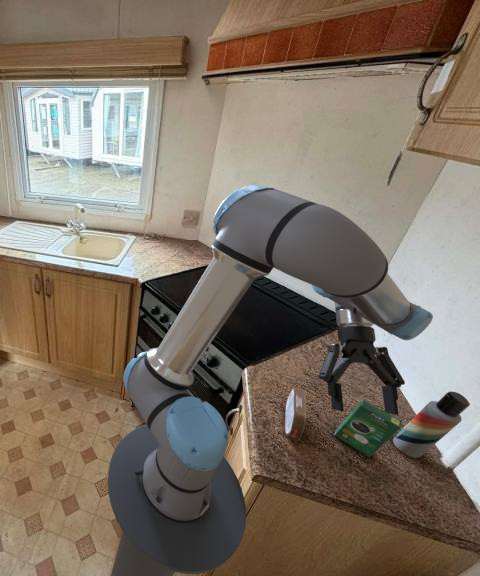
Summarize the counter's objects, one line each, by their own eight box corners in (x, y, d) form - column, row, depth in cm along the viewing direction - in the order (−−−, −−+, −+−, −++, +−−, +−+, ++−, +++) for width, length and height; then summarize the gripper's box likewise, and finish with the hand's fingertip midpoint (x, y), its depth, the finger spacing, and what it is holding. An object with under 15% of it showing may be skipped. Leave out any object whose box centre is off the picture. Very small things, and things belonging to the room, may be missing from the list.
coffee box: (372, 451, 78) (403, 419, 71) (370, 459, 76) (402, 427, 69) (336, 429, 83) (361, 397, 76) (333, 436, 81) (359, 404, 74)
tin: (295, 447, 77) (309, 427, 73) (281, 441, 79) (295, 421, 74) (295, 404, 89) (307, 384, 84) (283, 399, 90) (294, 380, 85)
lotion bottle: (391, 433, 83) (440, 382, 72) (418, 445, 80) (473, 395, 69) (393, 449, 79) (446, 398, 68) (422, 463, 76) (481, 412, 65)
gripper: (388, 331, 85) (399, 412, 80) (298, 325, 85) (305, 406, 80) (416, 328, 78) (430, 418, 73) (318, 322, 78) (326, 411, 73)
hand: (364, 412), depth 77 cm, fingers open, 13 cm apart
